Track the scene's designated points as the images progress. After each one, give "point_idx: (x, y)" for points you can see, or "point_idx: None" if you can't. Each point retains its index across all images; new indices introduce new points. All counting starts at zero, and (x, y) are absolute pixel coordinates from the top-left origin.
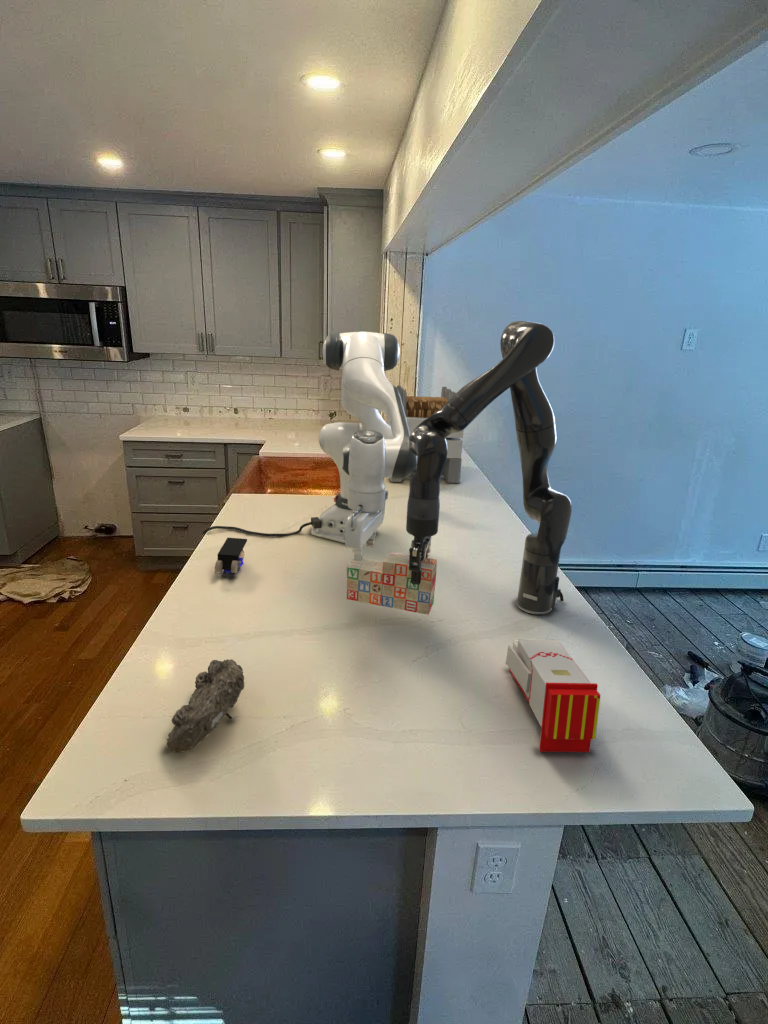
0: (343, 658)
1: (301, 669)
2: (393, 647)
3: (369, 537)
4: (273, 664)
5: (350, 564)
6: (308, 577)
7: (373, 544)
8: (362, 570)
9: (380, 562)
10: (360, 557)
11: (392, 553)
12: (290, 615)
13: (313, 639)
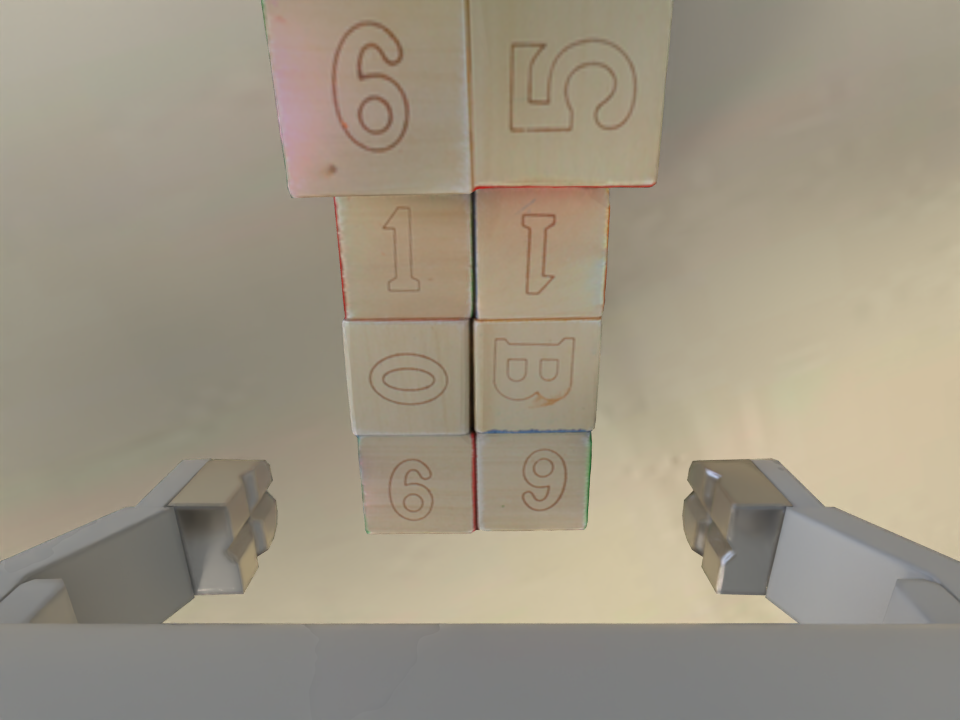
0: (861, 254)
1: (954, 387)
2: (730, 34)
3: (700, 642)
4: (927, 489)
5: (521, 522)
6: (237, 620)
7: (217, 464)
8: (597, 393)
9: (363, 279)
10: (799, 491)
11: (319, 125)
12: (574, 565)
13: (733, 422)
